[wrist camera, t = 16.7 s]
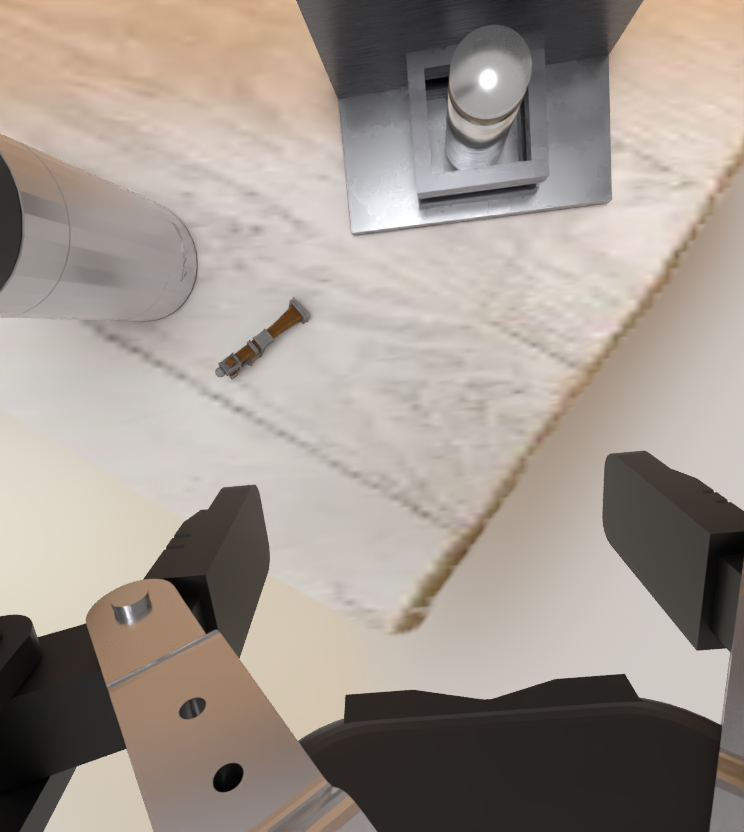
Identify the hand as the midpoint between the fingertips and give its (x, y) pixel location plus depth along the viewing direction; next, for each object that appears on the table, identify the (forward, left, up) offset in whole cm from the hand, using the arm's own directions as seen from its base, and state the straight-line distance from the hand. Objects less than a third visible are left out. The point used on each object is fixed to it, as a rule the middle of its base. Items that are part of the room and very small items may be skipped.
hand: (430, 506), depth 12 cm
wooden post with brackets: (-12, +4, -28) cm, 31 cm away
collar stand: (+4, +16, -28) cm, 33 cm away
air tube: (+4, +16, -27) cm, 32 cm away
